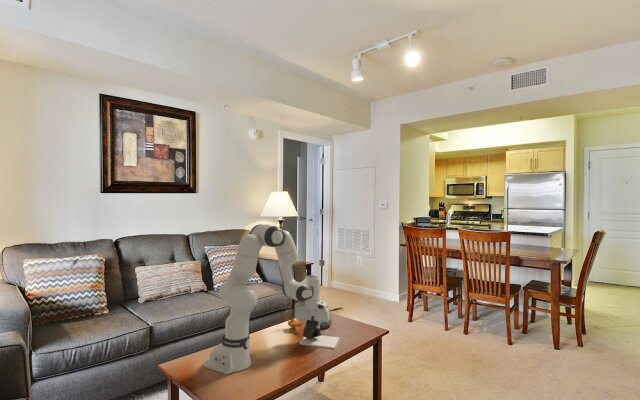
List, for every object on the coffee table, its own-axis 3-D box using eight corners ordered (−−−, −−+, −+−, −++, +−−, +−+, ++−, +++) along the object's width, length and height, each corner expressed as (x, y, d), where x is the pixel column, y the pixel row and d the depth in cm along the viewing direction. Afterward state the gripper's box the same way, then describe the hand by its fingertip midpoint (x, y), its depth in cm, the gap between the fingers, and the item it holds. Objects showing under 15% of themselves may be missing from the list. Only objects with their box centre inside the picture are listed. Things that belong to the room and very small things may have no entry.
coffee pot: (310, 326, 215) (310, 302, 215) (321, 321, 224) (322, 298, 224) (336, 334, 201) (337, 310, 202) (347, 329, 210) (348, 305, 210)
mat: (299, 344, 187) (299, 342, 187) (306, 334, 201) (306, 333, 201) (334, 348, 182) (334, 347, 182) (339, 338, 196) (339, 337, 196)
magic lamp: (303, 335, 200) (303, 317, 200) (281, 328, 210) (281, 310, 211) (310, 331, 205) (310, 314, 205) (288, 325, 216) (288, 308, 216)
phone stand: (308, 339, 188) (308, 317, 188) (302, 335, 193) (302, 314, 193) (321, 335, 193) (321, 314, 193) (315, 332, 198) (315, 311, 198)
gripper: (293, 303, 192) (292, 327, 192) (327, 306, 187) (327, 331, 187) (296, 300, 199) (296, 323, 198) (330, 303, 193) (330, 327, 193)
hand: (311, 327), depth 193 cm, fingers closed on phone stand, 6 cm apart
